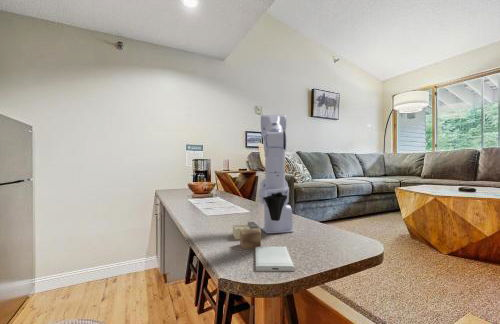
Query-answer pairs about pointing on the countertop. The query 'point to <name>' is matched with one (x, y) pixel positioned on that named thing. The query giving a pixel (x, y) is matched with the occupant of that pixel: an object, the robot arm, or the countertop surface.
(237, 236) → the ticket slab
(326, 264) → the countertop surface
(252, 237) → the stub block
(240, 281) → the countertop surface
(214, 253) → the countertop surface
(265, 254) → the hard drive
